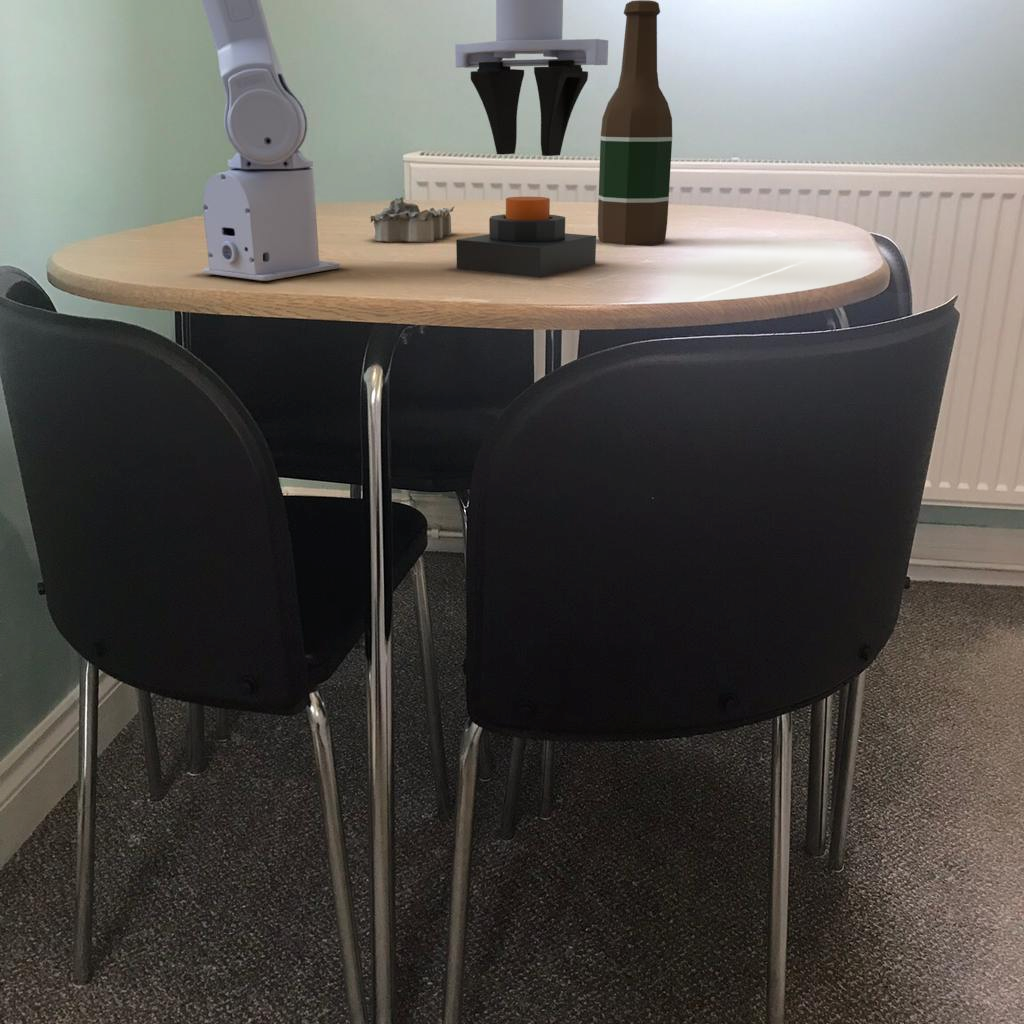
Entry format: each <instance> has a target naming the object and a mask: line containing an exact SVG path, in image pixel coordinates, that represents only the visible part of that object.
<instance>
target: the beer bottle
mask: <svg viewBox="0 0 1024 1024" xmlns="http://www.w3.org/2000/svg"><path fill="white" fill-rule="evenodd" d="M660 13H661V8H660V4H659V2H657V1H656V0H631V1H629V2H627V3H626V4H625V6H624V10H623V14H624V16H625V29H624V38H623V39H624V40H623V48H622V49H623V50H622V59H621V69H620V70H621V71H620V74H619V75H620V76H619V81H618V85H617V88H616V90H615V91H614V92H613V94H612V96H611V97H610V99H609V100H608V102H607V104H606V107H605V110H604V113H603V115H602V118H601V119H602V120H601V130H600V143H599V171H598V172H599V173H598V198H597V199H598V202H597V206H598V207H597V238H598V240H599V241H600V242H601V243H603V244H609V245H610V244H611V245H622V246H655V245H659V244H660V245H661V244H664V243H665V240H666V238H667V229H668V217H669V201H670V200H669V198H670V185H671V167H672V166H671V165H672V149H673V117H672V113H671V109H670V105H669V102H668V100H667V99H666V97H665V95H664V93H663V92H662V90H661V88H660V83H659V75H658V15H660Z"/></svg>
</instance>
